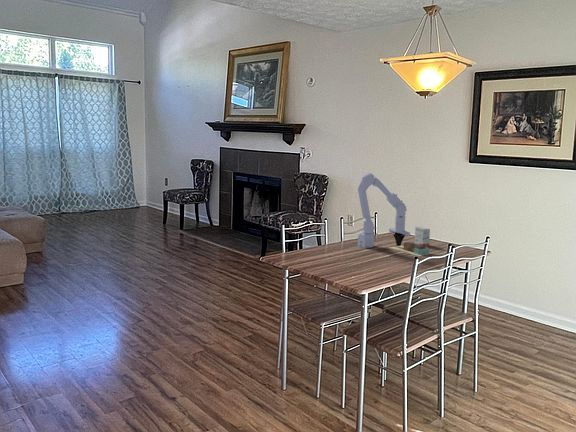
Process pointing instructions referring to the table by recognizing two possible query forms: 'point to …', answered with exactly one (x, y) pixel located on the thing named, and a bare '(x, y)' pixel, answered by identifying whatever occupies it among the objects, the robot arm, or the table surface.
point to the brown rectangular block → (412, 246)
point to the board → (401, 248)
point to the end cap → (421, 251)
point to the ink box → (422, 236)
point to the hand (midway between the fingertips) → (398, 245)
